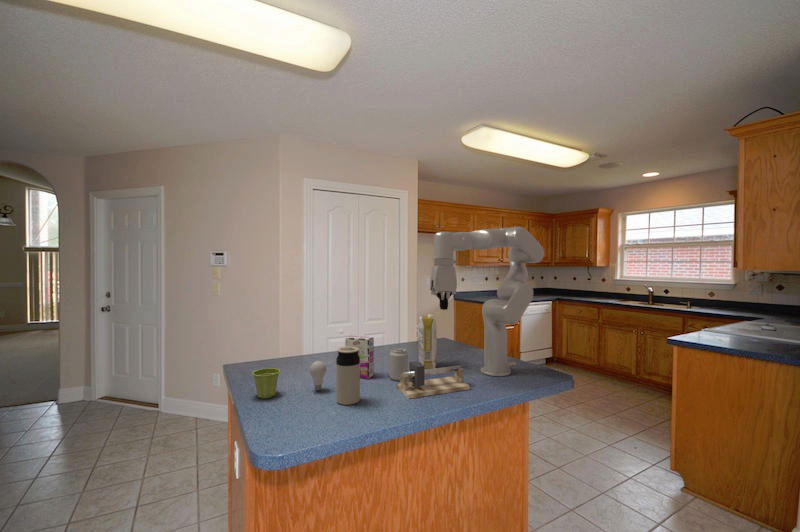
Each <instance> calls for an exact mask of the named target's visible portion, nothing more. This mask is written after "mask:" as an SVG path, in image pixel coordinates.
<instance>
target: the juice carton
mask: <svg viewBox="0 0 800 532" xmlns="http://www.w3.org/2000/svg"><path fill="white" fill-rule="evenodd" d="M418 362H419V363H420V364H422V365H423V366H425V370H426V369H434V368H436V366H437V321H436V318H435V317H434V314H427V315H424V316H423V315H421V316H419V319H418Z"/></svg>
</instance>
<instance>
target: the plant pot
mask: <svg viewBox="0 0 800 532" xmlns="http://www.w3.org/2000/svg"><path fill="white" fill-rule="evenodd" d="M280 373H281V370H280V369H279V368H274V367H268V368H260V369H257V370H254V371H253V372H251V375H252V376H253V379H254V384H255V390H256V396H257V398H260V399H270V398H272V397H274V396H276V393H277V384H278V378H279V376H280Z"/></svg>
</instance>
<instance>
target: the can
mask: <svg viewBox="0 0 800 532" xmlns="http://www.w3.org/2000/svg"><path fill="white" fill-rule="evenodd" d="M408 355H409V353H408V352H407V349H405V348H403V347H396V348H395V347H393V348H392V349H391V350H390V352H389V378H390V379H391V380H392V381H395V382H396V381H397V382H401V374H402V373H403V372H409V367H408V366H409V365H408V364H409V362H408V361H409V358H408V357H409V356H408Z"/></svg>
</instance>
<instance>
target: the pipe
mask: <svg viewBox="0 0 800 532" xmlns="http://www.w3.org/2000/svg"><path fill="white" fill-rule="evenodd" d="M459 369H463V368H462V366H461V364H460V365H452V366H445V367H444V366H443V367H438V368H437V367H435V368H434V369H425V376H430V375H436V374H437V375H438V374H445V373H453V372H454V373H455V371H458V370H459ZM402 375H404V376H409V377H415V371H410V372H409V371H408V372H403V373H402Z"/></svg>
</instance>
